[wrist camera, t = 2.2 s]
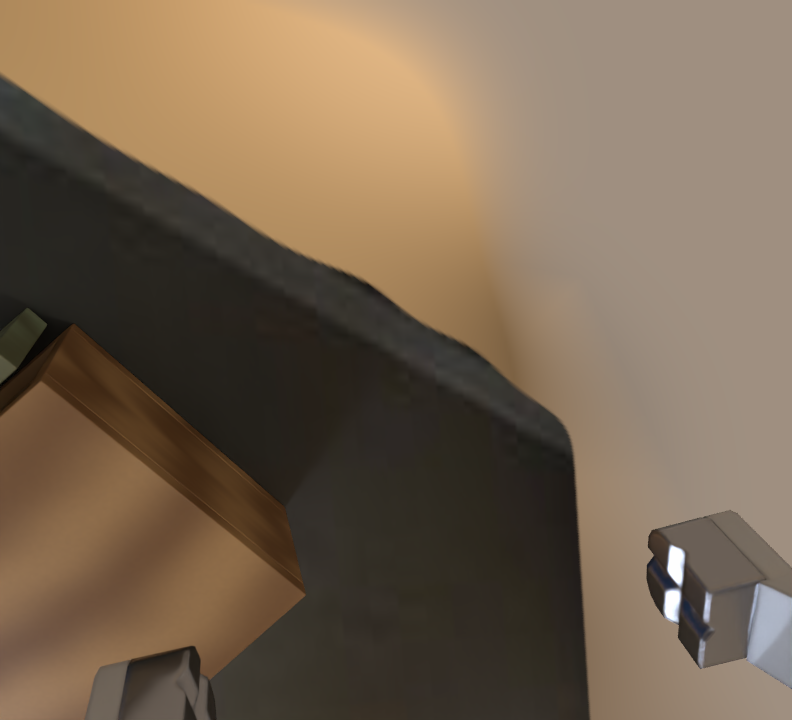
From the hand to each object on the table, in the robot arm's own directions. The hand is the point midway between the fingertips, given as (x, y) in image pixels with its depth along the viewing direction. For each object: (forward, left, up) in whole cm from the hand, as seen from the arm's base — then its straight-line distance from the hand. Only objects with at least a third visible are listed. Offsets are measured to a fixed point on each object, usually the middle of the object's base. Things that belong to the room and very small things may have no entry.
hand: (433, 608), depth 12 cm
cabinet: (-16, +3, -27) cm, 31 cm away
